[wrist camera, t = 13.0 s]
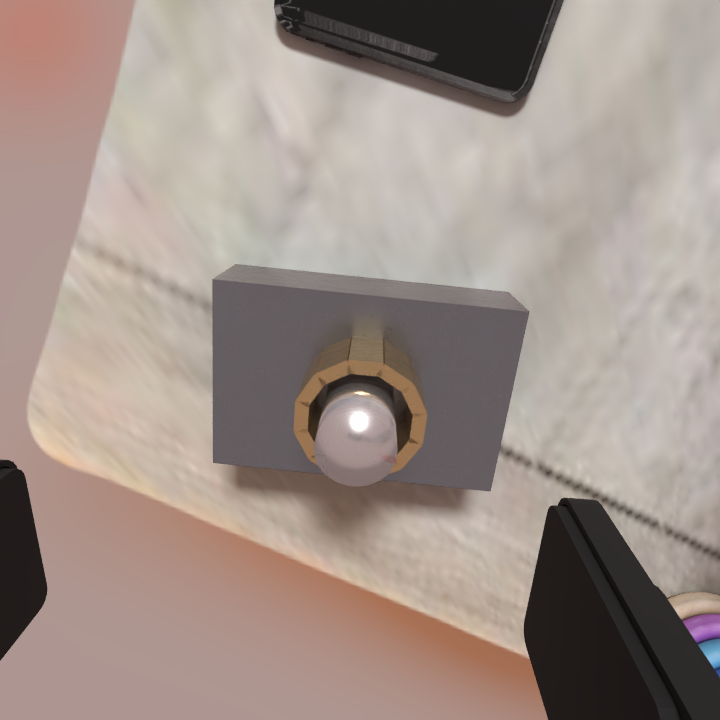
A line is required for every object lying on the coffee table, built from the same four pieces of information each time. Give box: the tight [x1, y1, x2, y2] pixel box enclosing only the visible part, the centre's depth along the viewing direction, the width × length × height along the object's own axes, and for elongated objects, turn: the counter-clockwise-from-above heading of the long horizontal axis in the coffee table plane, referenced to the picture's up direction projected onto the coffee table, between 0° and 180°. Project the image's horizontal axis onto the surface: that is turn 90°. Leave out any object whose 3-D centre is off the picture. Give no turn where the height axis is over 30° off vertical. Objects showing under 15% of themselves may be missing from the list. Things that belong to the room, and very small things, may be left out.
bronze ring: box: [294, 336, 427, 475], centre depth 29 cm, size 7×7×4 cm
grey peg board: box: [213, 264, 529, 491], centre depth 30 cm, size 18×12×12 cm, turn 84°
